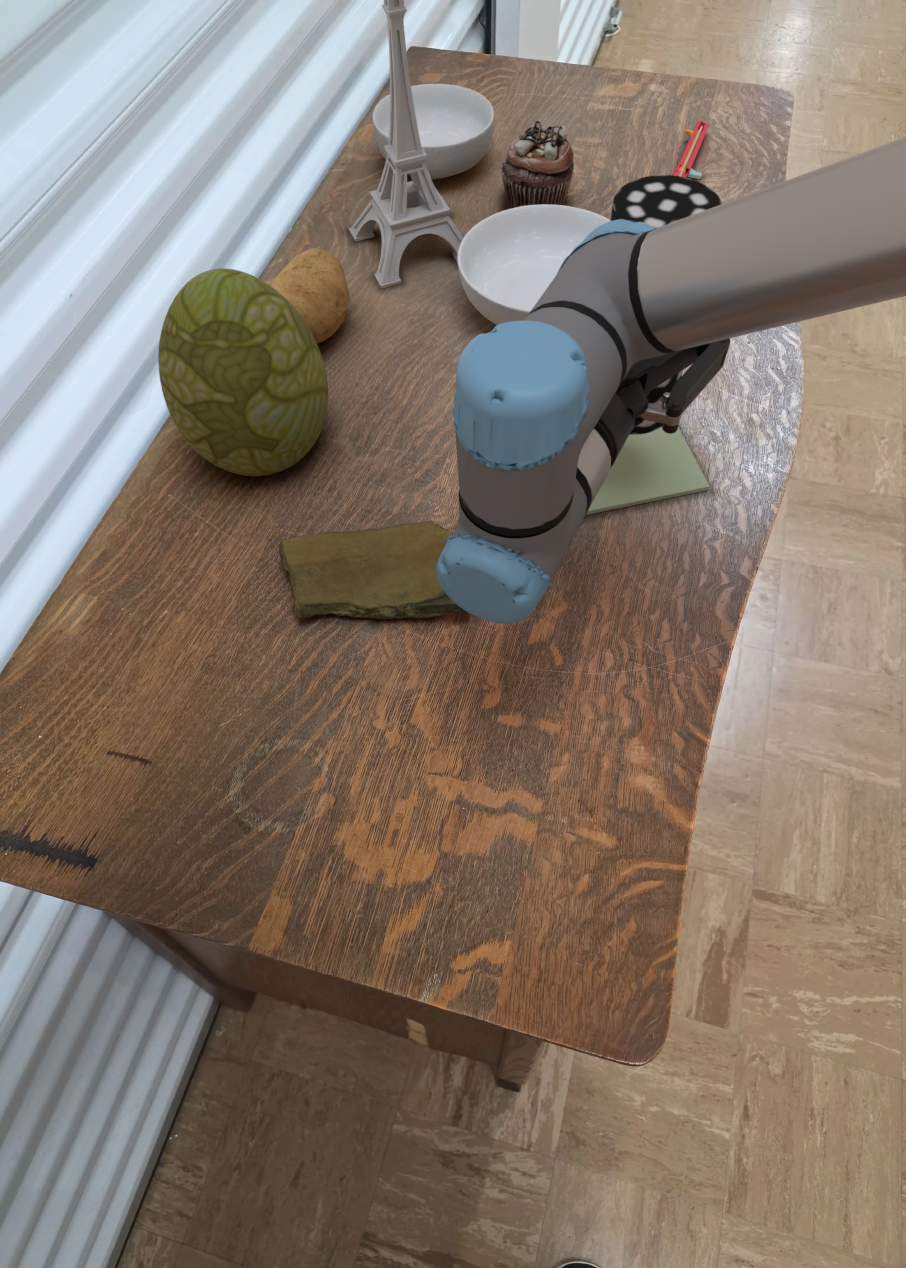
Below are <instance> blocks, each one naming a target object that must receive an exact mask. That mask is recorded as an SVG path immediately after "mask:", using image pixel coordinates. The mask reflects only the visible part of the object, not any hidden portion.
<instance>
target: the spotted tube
mask: <svg viewBox="0 0 906 1268" xmlns="http://www.w3.org/2000/svg"><path fill="white" fill-rule="evenodd" d="M672 175H673V174H671V175H670V174H655V175H647V176H643V177H640V178H636V179H633V180H631V181H629V182H628V183H625V184H624V185H622V186H621V187H620V189H618V190H617V191H616V193H615V195H614V197H613V200H612V207H611V213H610V214H611V215H610V220H611V221H613V220H619V219H624V220H629V221H634V222H644V223H646V224H648V225H650V226H652V227H654V228H655V229H656V228H659V227H661V226H664V225H667V224H670V223H672V222H675V221H678V220H680V219H683V218H686V217H689V216H691V215H694V214H697V213H699V212H702V211H705V210H708V209H710V208H713V207H716V206H718V205H721V204H723V201H722V200H721V198H720V196H719V195H718V194H717V193H716V192H715V191H714V190H713V189H712V188H711V187H709V186H707V185H706V184H704V183H702V182H700V181H697V180H695V179H693V178H690V177H686V178H685V177H680V176H672ZM683 372H684V370H682V371H680V372H679V373H677V374H676V375H674V376H673V377H671V378H670V379H668V380H666V381H665V382H663V383H662V384H660V385H659V386H657V387H656V388H654V389H652V390H651V391H650V393H649V394H648V396H647V400H648V403H654V402H656V401H657V400H658V399H659V398H660V397H662V396H663V394H664V393H665V392H670V393H671V390H672V388H673V386H674V385H675V383H676V382H677V381H678V380H679V379H680V378H681V376H682V375H683ZM662 425H663V423H657V422H652V421H647V420H644V421H643V422H642V423H641V424H640V425H638V426H636V427H635V428H633V429H632V431H631V432H630V434H629V435H639V434H646V433H649V432H652V431H655V430H657V429H659V428H660V427H662Z"/></svg>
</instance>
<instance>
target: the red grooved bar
mask: <svg viewBox="0 0 906 1268" xmlns="http://www.w3.org/2000/svg"><path fill="white" fill-rule="evenodd" d="M709 127H710V124H709V123H707V122H705V121H703V120H701V119H698V121H697V122H696V124H695V126H694V128H693V129H689V128H687V129H685V130H684V132H683V134H687V135H689V139H688V141H687V144H686V145H685V148H684V149H683V152H682V155H681V158H680V160H679V161H678V164H677V166H676V167H675V169H674V171H673V173H672V174H671V175H672V176H680V177H685V178H690V179H696V180H700V179H701V178H702V176H703V175H702V174H703V173H702V172H701V171H697V170H695V169H693V168H692V167H693V164H694V162H695V160H696V158H697V155H698V152H699V150H700V148H701V146H702V143H703V141H704V138H705V136H706V134H707V132H708V129H709Z"/></svg>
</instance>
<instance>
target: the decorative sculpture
mask: <svg viewBox="0 0 906 1268" xmlns="http://www.w3.org/2000/svg"><path fill="white" fill-rule="evenodd" d="M270 285H271V284H269V283H267V282H265V281H264V280H262V279H260V278H259V277H256V276H255V275H253V274H250V273H247V272H245V271H241V270H238V269H233V268H226V267H225V268H224V267H222V268H214V269H213V268H212V269H209V270H205V271H203V272H201V273H199V274H197V275H195V276H194V277H192V278H191V279H190V280H188V281H187V282H186V283H185V284H184V285H183V286H182V287H181V289H180V290H179V291H178V292H177V294H176V295H175V296H174V298H173V300H172V302H171V304H170V306H169V307H168V310H167V313H166V315H165V317H164V320H163V323H162V327H161V330H160V336H159V342H158V359H157V360H158V361H157V362H158V375H159V382H160V387H161V392H162V396H163V399H164V402H165V405H166V407H167V410H168V413H169V414H170V417H171V419H172V421H173V423H174V425H175V427H176V428H177V430H178V431H179V433H180V435H181V436H182V438H184V440H185V441H186V442H187V443H188V445H189V446H190V447H191V448H192V449H193V450H194V451H195V452H196V453H198V454H199V455H200V456H201V457H202V458H204V459H205V460H207V461H208V462H209V463H210V464H212V465H213V466H216V467H218V468H219V469H222V470H224V471H227V472H229V473H232V474H236V475H239V476H247V477H262V476H263V477H264V476H271V475H274V474H277V473H280V472H283V471H285V470H287V469H290V468H291V467H293V466H295V465H296V464H297V463H299V462H300V461H301V460H302V459H303V458H305V456H307V454H308V453H309V452H310V451H311V449H312V448H313V446H314V445H315V444H316V442H317V440H318V438H319V437H320V435H321V433H322V430H323V428H324V425H325V421H326V417H327V413H328V405H329V384H328V375H327V371H326V366H325V362H324V359H323V356H322V353H321V350H320V348H319V345H318V343H316V341H315V339H314V337H313V335H312V333H311V331H310V329H309V328H308V326H307V325H306V323H305V321H304V320H303V318H302V317H301V316H300V314H299V313H298V312H297V311H296V309H295V308H294V307H293V306H292V305H291V304H290V302H289V301H288V300H287V299H286V298H284V297H283V296H282V295H281V294H280V293H279V292H278V291H276V290H275V289H274V288H273V287H271V286H270Z"/></svg>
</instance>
